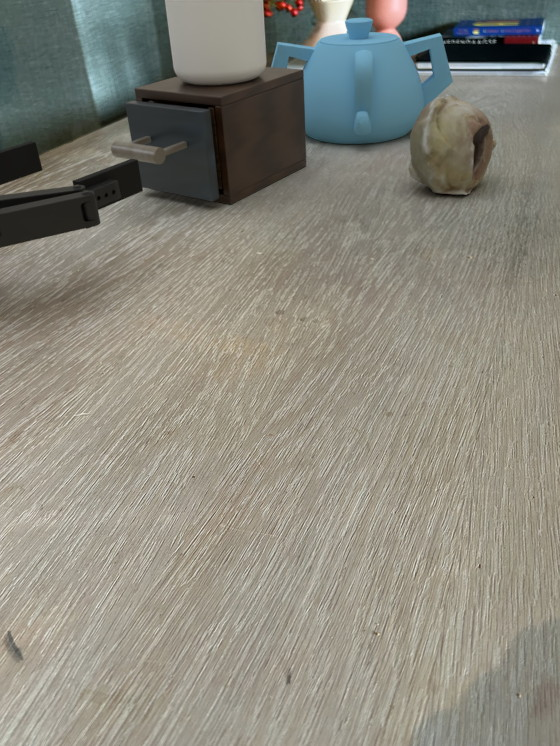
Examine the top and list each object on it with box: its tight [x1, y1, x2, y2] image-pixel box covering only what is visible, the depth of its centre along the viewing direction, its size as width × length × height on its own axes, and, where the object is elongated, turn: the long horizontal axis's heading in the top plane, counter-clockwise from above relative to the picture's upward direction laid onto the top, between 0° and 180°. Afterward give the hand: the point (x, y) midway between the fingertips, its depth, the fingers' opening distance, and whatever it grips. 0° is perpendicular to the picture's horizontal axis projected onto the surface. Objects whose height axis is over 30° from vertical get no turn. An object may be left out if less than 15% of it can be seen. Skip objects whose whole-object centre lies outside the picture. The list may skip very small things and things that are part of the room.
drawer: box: [110, 99, 223, 202], centre depth 72 cm, size 19×11×9 cm, turn 145°
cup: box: [164, 0, 267, 85], centre depth 70 cm, size 10×10×10 cm
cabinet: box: [134, 66, 307, 205], centre depth 76 cm, size 15×12×11 cm
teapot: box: [270, 17, 454, 145], centre depth 90 cm, size 19×19×14 cm
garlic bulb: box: [408, 93, 497, 196], centre depth 70 cm, size 9×8×10 cm
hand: (84, 164), depth 61 cm, fingers open, 13 cm apart
